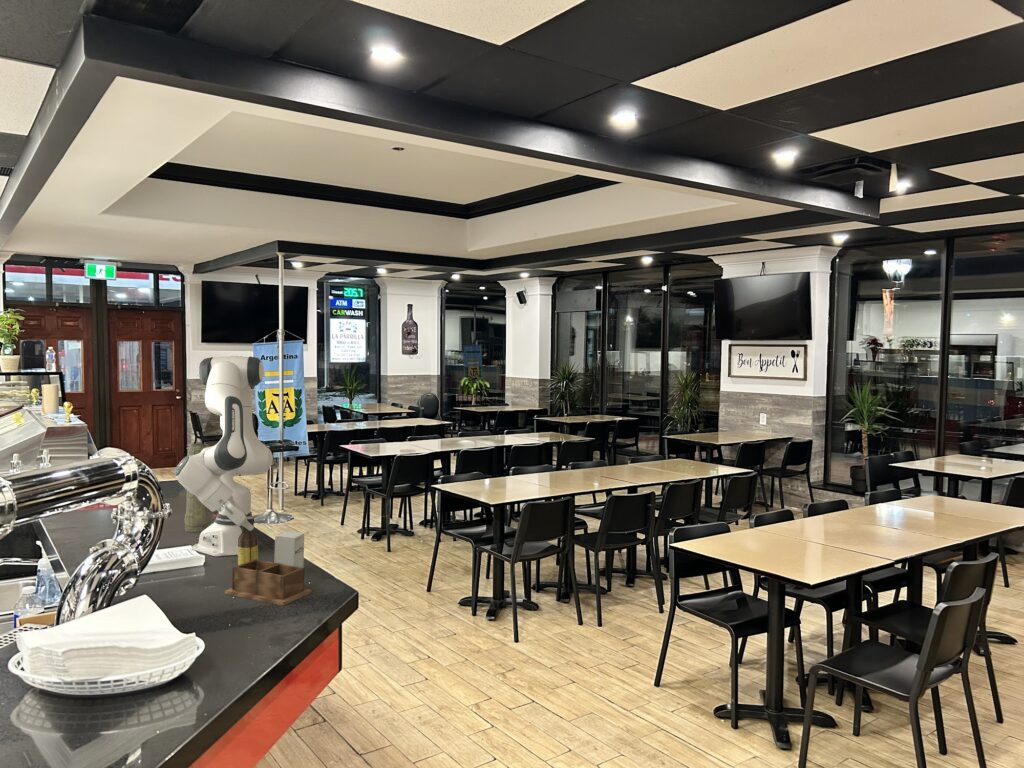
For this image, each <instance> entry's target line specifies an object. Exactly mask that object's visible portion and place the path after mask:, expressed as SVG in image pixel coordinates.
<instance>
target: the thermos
mask: <svg viewBox="0 0 1024 768" xmlns="http://www.w3.org/2000/svg"><path fill="white" fill-rule="evenodd" d="M207 447H208V445H207V444H205V443H201V442H200V443H199V442H198V443H191V444H190V445H189V447H188V450H187V456H192V455H196V454H199V453H200V452H201V451H202V450H203V449H204V448H207ZM185 497H186V498H185V499H186V500H185V501H186V502H185V505H186V508H185V514H184V523H183V524H184V532H186V533H189V534H198V533H200V534H201V532H202V531H203V530H205V529H206V528H207V527H209V524H210V523H209V522H210V521H209V520H210V518H209V517H210V516H209V514H208V513H209V512H208V508H207V507H206V506H205V505H204V504H202V503H201V502H200V501H199V499H198V498H197V497H196V496H195V495H193V494H191V493H190V492H189V491H188V490H186V496H185Z"/></svg>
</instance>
